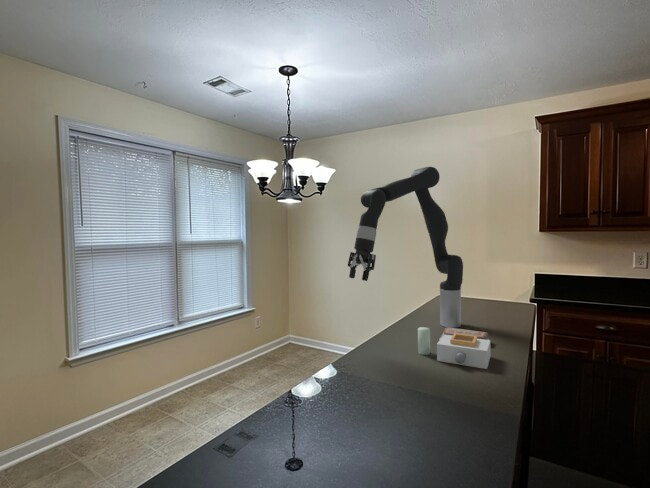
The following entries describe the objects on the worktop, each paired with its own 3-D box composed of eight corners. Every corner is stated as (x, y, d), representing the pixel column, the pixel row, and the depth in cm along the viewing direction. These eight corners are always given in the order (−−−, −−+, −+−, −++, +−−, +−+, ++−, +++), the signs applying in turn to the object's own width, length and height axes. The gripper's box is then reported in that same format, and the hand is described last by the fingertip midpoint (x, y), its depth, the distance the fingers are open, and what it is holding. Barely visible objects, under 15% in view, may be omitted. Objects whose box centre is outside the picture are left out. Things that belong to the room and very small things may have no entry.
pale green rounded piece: (419, 349, 135) (419, 326, 135) (431, 351, 133) (431, 328, 133) (416, 353, 131) (416, 329, 131) (428, 355, 129) (428, 331, 129)
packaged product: (489, 330, 144) (486, 337, 135) (489, 341, 144) (486, 349, 135) (443, 324, 153) (438, 331, 144) (443, 335, 153) (438, 342, 144)
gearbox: (444, 350, 135) (443, 330, 134) (490, 356, 127) (490, 336, 126) (435, 363, 122) (434, 342, 121) (486, 372, 114) (486, 349, 113)
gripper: (384, 241, 136) (376, 283, 135) (362, 240, 148) (354, 278, 147) (369, 237, 132) (361, 280, 131) (347, 236, 145) (340, 275, 143)
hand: (357, 279), depth 139 cm, fingers open, 8 cm apart
